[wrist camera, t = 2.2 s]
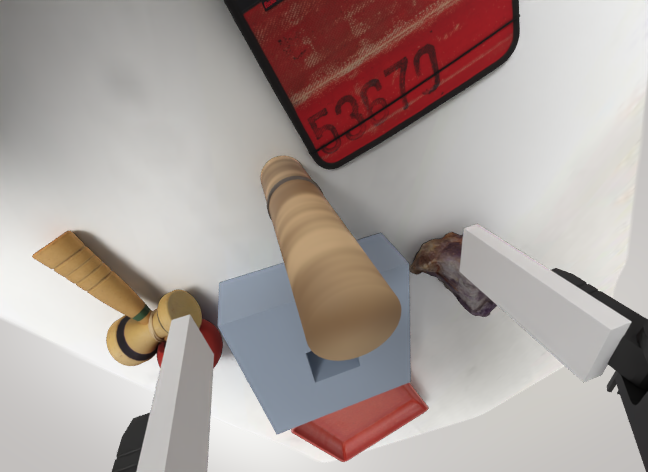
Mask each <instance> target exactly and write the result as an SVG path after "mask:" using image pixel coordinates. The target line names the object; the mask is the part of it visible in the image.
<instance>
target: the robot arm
mask: <svg viewBox="0 0 648 472" xmlns="http://www.w3.org/2000/svg"><path fill="white" fill-rule="evenodd" d="M460 273H462V274H463V275H464V276H465V277H466V278H467V279H468V280H469V281H471V282H472V283H473V284H474V285H475V286H476V287H477V288H478V289H479V290H481V291H482V292H483V293H484V294H485V295H486V296H487V297H488V298H490V299H491V300H492V301H493V302H494V303H495V304H496V305H497V306H498V307H500V308H501V309H502V310H503V311H504V312H505V313H506V314H507V315H509V316H510V317H511V318H512V319H513V320H514V321H515V322H516V323H517V324H519V325H520V326H521V327H522V328H523V329H524V330H525V331H526V332H528V333H529V334H530V335H531V336H532V337H533V338H534V339H535V340H536V341H538V342H539V343H540V344H541V345H542V346H543V347H544V348H545V349H547V350H548V351H549V352H550V353H551V354H552V355H553V356H554V357H555V358H557V359H558V360H559V361H560V362H561V363H562V364H563V365H564V366H566V367H567V368H568V369H569V370H570V371H571V372H572V373H573V374H575V375H576V376H577V377H578V378H579V379H580V380H581V381H582V382H583V383H584V382H586V381H588V380H591V379H593V378H596V377H598V376H601V375H602V374H603V372H604V370H605V368H606V366H607V365H610V366H611V367H612V368H613V369H615V370H616V371H615V373H614V375H613V376H612V378H611V380H610V381H609V383H608V385H607V391H608V392H612V390H613V389H614V387H615V386H616V384H617V387H618V392H617V394H620V396H621V399H622V402H623V405H624V408H625V411H626V413H627V416H628V419H629V422H630V425H631V428H632V431H633V434H634V437H635V440H636V443H637V446H638V449H639V451H640V455H641V457H642V461H643V464H644V466H645V469H646V472H648V319H646V318H644V317H642V316H641V315H639V314H637V313H636V312H634V311H632V310H631V309H629V308H628V307H626V306H624V305H623V304H621V303H619V302H618V301H616V300H614V299H613V298H611V297H609V296H608V295H606V294H605V293H603V292H601V291H598V289H596V288H595V287H593V286H591V285H590V284H586V282H585V281H583V280H581V279H580V278H578V277H576V276H575V275H573V274H571V273H568V272H565V271H563V270H560V269H557V268H555V269H552V270H550V269H548V268H546V267H545V266H543V265H542V264H540V263H539V262H537V261H535V260H534V259H532V258H531V257H529V256H528V255H526V254H524V253H523V252H521V251H520V250H518V249H517V248H515V247H513V246H512V245H510V244H509V243H507V242H506V241H504V240H502V239H501V238H499V237H498V236H496V235H494V234H493V233H491V232H490V231H488V230H487V229H485V228H483V227H482V226H480V225H479V224H475V225H472V226H469V227H465V228H464V230H463V240H462V251H461V261H460ZM213 363H214V354H213V352H212V350H211V349H210V347H209V345H208V344H207V342H206V340H205V338H204V337H203V335H202V333H201V332H200V330H199V328H198V327H197V325H196V323H195V322H194V320H193V318H192V317H191V315H190V314H189V315H186V316H183V317H180V318H177V319H173V320H172V321H171V325H170V329H169V334H168V338H167V342H166V347H165V351H164V355H163V359H162V364H161V368H160V372H159V377H158V381H157V385H156V390H155V394H154V398H153V402H152V407H151V411H150V413H148V414H145V415H142V416H139V417H136V418H133V420H132V421H131V423H130V425H129V427H128V428H127V430H126V431H125V433H124V435H123V436H122V439H121V442H120V446H119V449H118V452H117V459H116V460H115V463H114V466H113V469H112V472H207V466H208V449H209V432H210V415H211V397H212V380H213Z"/></svg>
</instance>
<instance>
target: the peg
mask: <svg viewBox="0 0 648 472" xmlns="http://www.w3.org/2000/svg"><path fill="white" fill-rule="evenodd" d="M261 184H262V187H263V191H264V194H265V198H266V201H267V209H268V213H269V216H270V218H271V220H272V222H273V226H274V229H275V233H276V236H277V240H278V243H279V247H280V250H281V254H282V257H283V261H284V264H285V268H286V271H287V275H288V278H289V282H290V285H291V289H292V292H293V296H294V299H295V303H296V306H297V310H298V313H299V317H300V320H301V324H302V327H303V331H304V334H305V338H306V341H307V344H308V346H309V348H310V349H311V351H312V352H313V353H314V354H316V355H317V356H319V357H321V358H324V359H327V360H333V361H343V360H350V359H354V358H357V357H360V356H363V355H365V354H367V353H369V352H371V351H373V350H374V349H376V348H378V347H379V346H380V345H382V344H383V343H384V342H385V341H386V340H387V339H388V338H389V337H390V336H391V335H392V333H393V332H394V331H395V329H396V327H397V326H398V324H399V321H400V318H401V304H400V301H399V299H398V297H397V296H396V295H395V293H394V292H393V290H392V289H391V288H390V286H389V285H388V284H387V282H386V281H385V279H384V278H383V277H382V275H381V274H380V273H379V271H378V270H377V268H376V267H375V266H374V264H373V263H372V262H371V260H370V259H369V257H368V256H367V255H366V253H365V252H364V251H363V249H362V248H361V246H360V245H359V244H358V242H357V241H356V240H355V238H354V237H353V235H352V234H351V233H350V231H349V230H348V229H347V227H346V226H345V224H344V223H343V222H342V220H341V219H340V218H339V216H338V215H337V213H336V212H335V211H334V209H333V208H332V207H331V205H330V204H329V202H328V201H327V200H326V198H325V197H324V195H323V193H322V191H321V189H320V188H319V186H318V185H317V184H316V183H315V182H314V181H313V180H312V179H311V178H310V176H309V175H308V173H307V172H306V171H305V169H304V168H303V167H302V165H301V164H300V163H299V162H298V161H297V160H296V159H294V158H292V157H289V156H277V157H274V158H272V159H271V160H269V161H268V162H267V163H266V164H265V166H264V167H263V169H262V172H261Z"/></svg>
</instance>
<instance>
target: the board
mask: <svg viewBox="0 0 648 472" xmlns="http://www.w3.org/2000/svg"><path fill="white" fill-rule="evenodd" d="M356 241H357V242H358V244H359V245H360V246H361V248H362V249H363V251H364V252H365V253H366V255H367V256H368V257H369V259H370V260H371V262H372V263H373V264H374V266H375V267H376V268H377V270H378V271H379V273H380V274H381V275H382V277H383V278H384V279H385V281H386V282H387V284H388V285H389V286H390V288H391V289H392V290H393V292H394V293H395V295H396V296H397V297H398V299H399V301H400V304H401V318H400V321H399V324H398V326H397V327H396V329H395V331H394V332H393V333H392V335H391V336H390V337H389V338H388V339H387V340H386V341H385V342H384V343H383V344H382V345H380V346H379V347H378V348H376V349H374V350H373V351H371V352H369V353H367V354H365V355H363V356H360V357H357V358H354V359H350V360H343V361H333V360H327V359H324V358H321V357H319V356H317V355H316V354H314V353H313V352H312V351H311V349H310V348H309V346H308V344H307V341H306V338H305V334H304V331H303V327H302V324H301V320H300V317H299V313H298V310H297V306H296V303H295V299H294V296H293V292H292V289H291V285H290V282H289V278H288V275H287V271H286V268H285V264H284V263H281V264H278V265H275V266H272V267H268V268H265V269H262V270H259V271H256V272H252V273H249V274H246V275H243V276H239V277H236V278H233V279H230V280H226V281H223V282H220V283H219V303H218V328H219V330H220V331H221V333H222V335H223V337H224V339H225V341H226V342H227V344H228V346H229V348H230V350H231V352H232V353H233V355H234V357H235V359H236V361H237V362H238V364H239V366H240V368H241V370H242V372H243V373H244V375H245V377H246V379H247V381H248V383H249V384H250V386H251V388H252V390H253V392H254V394H255V395H256V397H257V399H258V401H259V403H260V405H261V406H262V408H263V410H264V412H265V414H266V416H267V417H268V419H269V421H270V423H271V425H272V426H273V428H274V430H275V432H276V434H280V433H282V432H285V431H287V430H290V429H292V428H295V427H297V426H300V425H302V424H305V423H308V422H310V421H313V420H315V419H318V418H320V417H323V416H325V415H328V414H330V413H333V412H335V411H338V410H341V409H343V408H346V407H348V406H351V405H353V404H356V403H358V402H361V401H363V400H366V399H368V398H371V397H374V396H376V395H379V394H381V393H384V392H386V391H389V390H391V389H394V388H396V387H399V386H401V385H404V384H407V383H409V382H411V372H410V300H409V263H408V262H407V260H406V259H405V258H404V257H403V256H402V255H401V254H400V253H399V252H398V251H397V249H396V248H395V247H394V246H393V245H392V244H391V243H390V242H389V241H388V240H387V238H386V237H385V236H384V235H383V234H382V233H379V234H375V235H372V236H369V237H366V238H362V239H359V240H356Z"/></svg>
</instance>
